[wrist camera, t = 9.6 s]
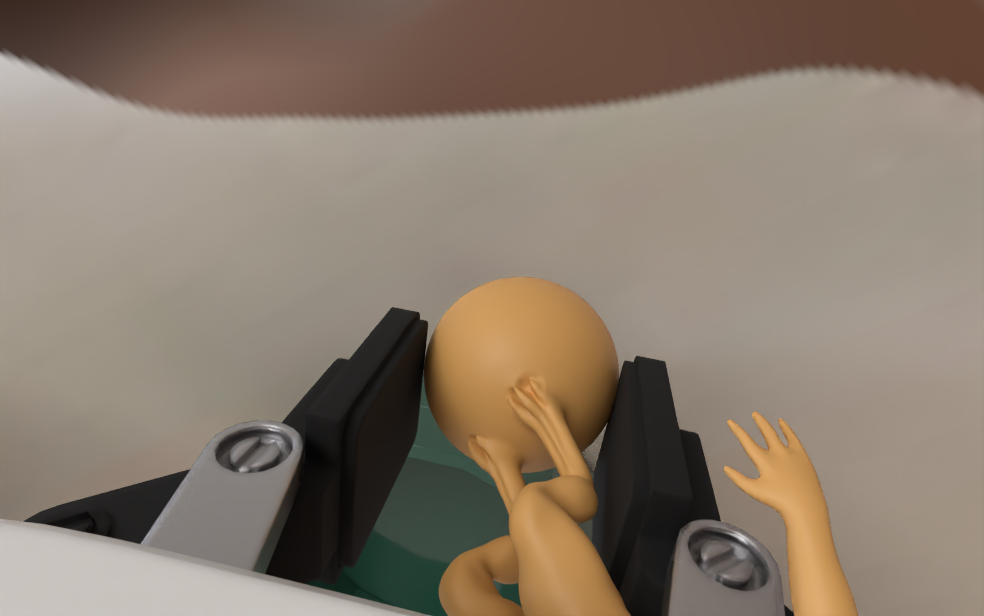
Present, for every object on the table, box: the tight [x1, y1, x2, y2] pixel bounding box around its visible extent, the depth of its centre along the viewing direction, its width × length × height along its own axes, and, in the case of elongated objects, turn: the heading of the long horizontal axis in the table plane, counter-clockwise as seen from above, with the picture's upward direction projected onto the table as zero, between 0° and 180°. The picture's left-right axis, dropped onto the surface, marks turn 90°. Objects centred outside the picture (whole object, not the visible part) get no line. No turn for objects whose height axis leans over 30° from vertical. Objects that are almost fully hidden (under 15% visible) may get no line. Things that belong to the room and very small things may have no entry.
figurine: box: [424, 277, 858, 616], centre depth 8 cm, size 8×6×12 cm
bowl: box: [306, 374, 594, 616], centre depth 26 cm, size 16×16×5 cm
